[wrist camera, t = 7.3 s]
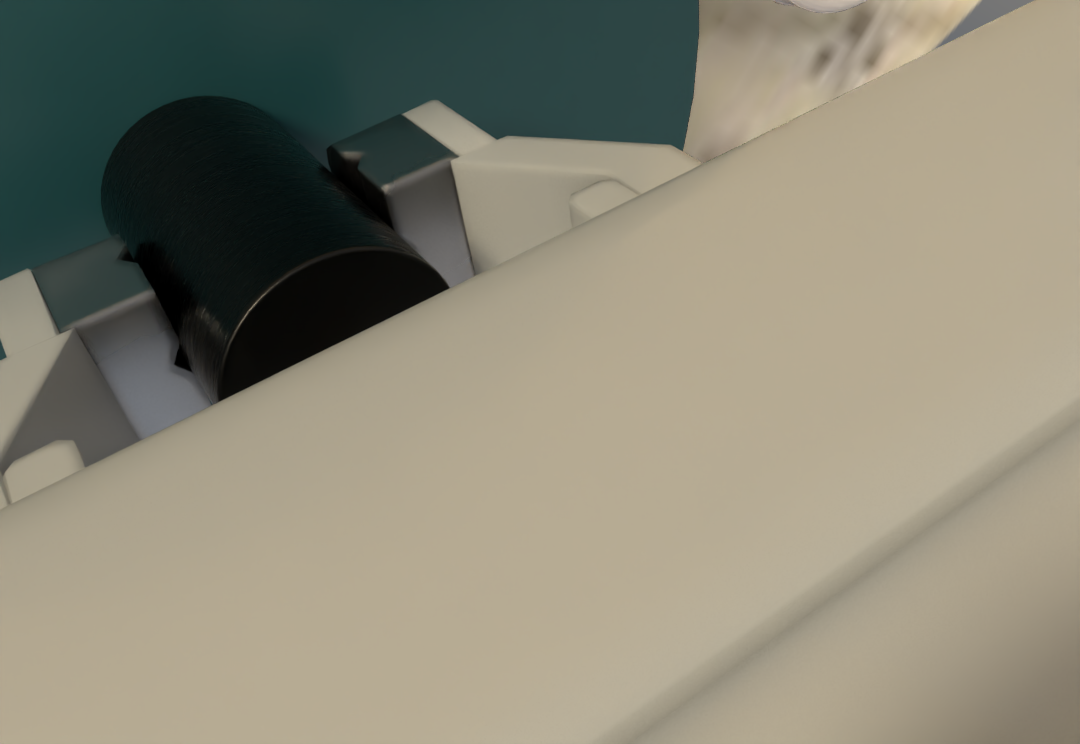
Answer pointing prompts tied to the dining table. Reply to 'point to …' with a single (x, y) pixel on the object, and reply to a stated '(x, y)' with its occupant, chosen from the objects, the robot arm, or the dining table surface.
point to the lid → (291, 142)
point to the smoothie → (822, 5)
